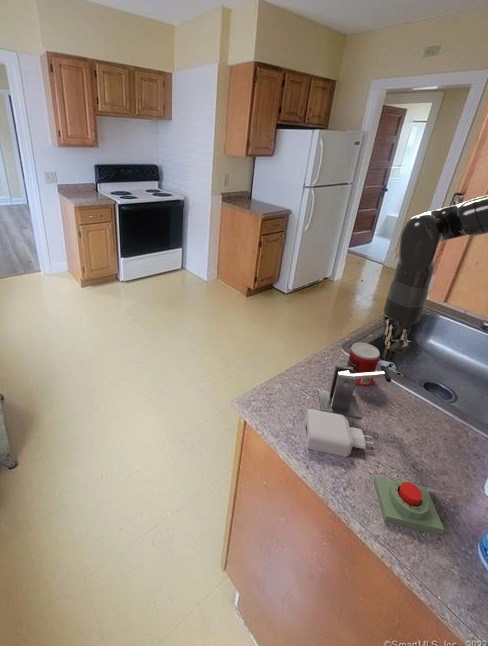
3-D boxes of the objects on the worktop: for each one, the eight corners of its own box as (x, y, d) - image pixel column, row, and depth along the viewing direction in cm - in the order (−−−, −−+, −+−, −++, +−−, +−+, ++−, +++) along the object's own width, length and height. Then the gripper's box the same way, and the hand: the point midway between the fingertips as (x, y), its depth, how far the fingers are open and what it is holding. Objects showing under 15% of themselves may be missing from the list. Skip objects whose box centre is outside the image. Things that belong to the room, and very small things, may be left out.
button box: (424, 492, 67) (429, 481, 66) (441, 535, 60) (447, 523, 59) (373, 482, 69) (376, 470, 68) (384, 521, 62) (388, 510, 61)
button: (415, 489, 65) (418, 483, 64) (422, 508, 62) (425, 502, 61) (396, 485, 66) (398, 479, 65) (402, 503, 62) (404, 497, 62)
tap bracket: (353, 398, 92) (362, 365, 87) (360, 420, 85) (369, 385, 80) (317, 392, 94) (324, 359, 89) (320, 413, 86) (328, 378, 82)
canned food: (375, 379, 100) (384, 350, 95) (365, 392, 94) (374, 361, 90) (351, 367, 105) (357, 339, 100) (340, 379, 99) (347, 349, 95)
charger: (375, 465, 73) (306, 450, 76) (365, 432, 81) (304, 420, 84) (379, 450, 71) (309, 436, 74) (369, 417, 80) (307, 406, 83)
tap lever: (386, 371, 85) (385, 363, 84) (392, 383, 80) (391, 376, 80) (338, 375, 88) (336, 367, 88) (341, 387, 84) (339, 380, 83)
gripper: (436, 314, 68) (414, 380, 74) (412, 288, 80) (395, 346, 86) (397, 310, 69) (379, 374, 76) (380, 285, 81) (365, 342, 88)
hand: (387, 359), depth 81 cm, fingers closed
